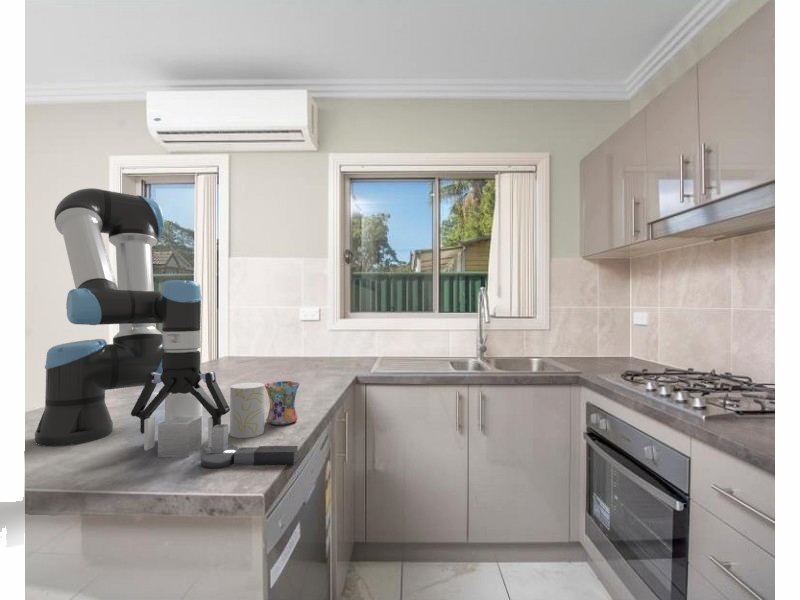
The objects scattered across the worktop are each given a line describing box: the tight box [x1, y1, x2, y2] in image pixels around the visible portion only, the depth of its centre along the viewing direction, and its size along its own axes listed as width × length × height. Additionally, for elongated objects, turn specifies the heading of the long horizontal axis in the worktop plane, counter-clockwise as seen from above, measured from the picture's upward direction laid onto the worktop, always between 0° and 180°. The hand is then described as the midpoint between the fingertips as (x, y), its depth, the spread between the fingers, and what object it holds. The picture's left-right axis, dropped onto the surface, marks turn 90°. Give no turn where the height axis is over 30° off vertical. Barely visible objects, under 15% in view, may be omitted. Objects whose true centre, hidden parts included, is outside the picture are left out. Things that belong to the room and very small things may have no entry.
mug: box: [264, 380, 301, 426], centre depth 118 cm, size 12×9×11 cm
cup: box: [229, 382, 265, 439], centre depth 107 cm, size 8×8×12 cm
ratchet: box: [200, 423, 299, 470], centre depth 87 cm, size 19×7×8 cm, turn 92°
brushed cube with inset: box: [157, 415, 203, 458], centre depth 92 cm, size 6×6×7 cm
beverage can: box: [164, 392, 203, 421], centre depth 102 cm, size 8×8×12 cm
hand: (181, 447), depth 92 cm, fingers open, 13 cm apart
